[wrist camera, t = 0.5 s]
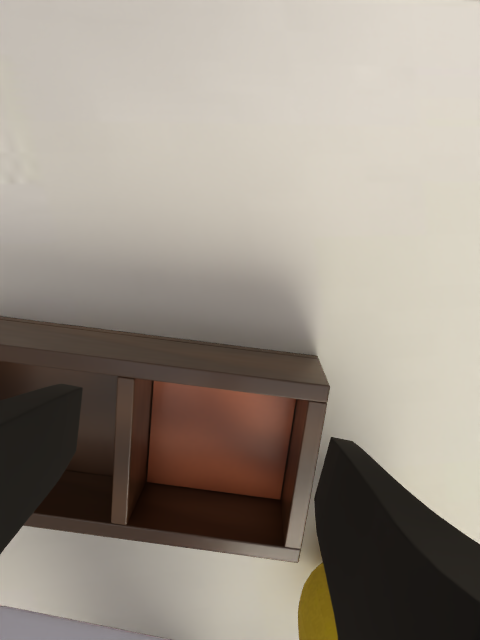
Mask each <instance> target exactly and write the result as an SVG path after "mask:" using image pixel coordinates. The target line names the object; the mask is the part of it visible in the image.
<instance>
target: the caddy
mask: <svg viewBox="0 0 480 640" xmlns="http://www.w3.org/2000/svg"><path fill="white" fill-rule="evenodd" d="M56 384H67V385H72V386H77V387H82V388H83V392H82V401H81V411H80V420H79V430H78V439H77V449H76V452H75V454H74V456H73V457H72V459H71V461H70V463H69V464H68V466H67V468H66V469H65V471H64V473H63V474H62V476H61V478H60V479H59V481H58V482H57V483H56V485H55V486H54V487H53V488H52V490H51V491H50V492H49V494H48V495H47V496H46V497H45V499H44V500H43V501H42V502H41V504H40V505H39V506H38V507H37V509H36V510H35V511H34V512H33V514H32V515H31V516H30V517H29V519H28V520H27V521H26V522H25V524H24V525H23V526H30V527H38V528H45V529H53V530H60V531H67V532H75V533H82V534H89V535H97V536H104V537H111V538H119V539H126V540H134V541H141V542H148V543H156V544H163V545H170V546H178V547H185V548H193V549H200V550H207V551H215V552H222V553H229V554H237V555H244V556H252V557H259V558H266V559H274V560H281V561H288V562H296V563H298V562H299V557H300V551H301V546H302V541H303V535H304V530H305V524H306V519H307V513H308V507H309V502H310V496H311V491H312V485H313V479H314V474H315V468H316V463H317V457H318V452H319V446H320V440H321V435H322V429H323V424H324V418H325V413H326V407H327V401H328V395H329V390H330V385H329V383H328V381H327V378H326V376H325V373H324V371H323V369H322V366H321V364H320V361H319V359H318V356H314V355H306V354H298V353H290V352H281V351H273V350H265V349H257V348H249V347H241V346H233V345H225V344H217V343H209V342H201V341H193V340H185V339H177V338H169V337H161V336H153V335H145V334H136V333H128V332H120V331H112V330H104V329H96V328H88V327H80V326H72V325H64V324H56V323H48V322H40V321H32V320H24V319H16V318H8V317H0V401H1V400H4V399H7V398H11V397H14V396H17V395H21V394H24V393H27V392H31V391H34V390H37V389H41V388H44V387H48V386H52V385H56Z"/></svg>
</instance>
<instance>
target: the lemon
mask: <svg viewBox="0 0 480 640" xmlns="http://www.w3.org/2000/svg"><path fill="white" fill-rule="evenodd" d="M298 629H299V640H338V636H337V629H336V623H335V618H334V612H333V607H332V603H331V598H330V593H329V589H328V584H327V579H326V574H325V570H324V565H323V563H321V564H320V565H319V566H318V567H317V568H316V569H315V570H314V571H313V572H312V573H311V574H310V576H309V578H308V579H307V581H306V582H305V584H304V587H303V590H302V594H301V597H300V602H299V608H298Z"/></svg>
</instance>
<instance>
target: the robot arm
mask: <svg viewBox="0 0 480 640" xmlns="http://www.w3.org/2000/svg"><path fill="white" fill-rule="evenodd" d="M82 392H83V388H82V387H77V386H72V385H67V384H56V385H52V386H48V387H44V388H41V389H37V390H34V391H31V392H27V393H24V394H21V395H17V396H14V397H11V398H7V399H4V400H1V401H0V554H1V553H2V551H3V550H4V548H5V547H6V546H7V545H8V543H9V542H10V541H11V540H12V538H13V537H14V536H15V535H16V533H17V532H18V531H19V530H20V529H21V527H22V526H23V525H24V524H25V522H26V521H27V520H28V519H29V517H30V516H31V515H32V514H33V512H34V511H35V510H36V509H37V507H38V506H39V505H40V504H41V502H42V501H43V500H44V499H45V497H46V496H47V495H48V494H49V492H50V491H51V490H52V488H53V487H54V486H55V485H56V483H57V482H58V481H59V479H60V478H61V476H62V474H63V473H64V471H65V469H66V468H67V466H68V464H69V463H70V461H71V459H72V457H73V456H74V454H75V452H76V449H77V439H78V430H79V420H80V411H81V401H82ZM314 501H315V517H316V529H317V536H318V541H319V546H320V551H321V556H322V560H323V565H324V570H325V574H326V579H327V584H328V589H329V593H330V598H331V603H332V607H333V612H334V618H335V623H336V629H337V636H338V640H480V544H478V543H477V542H475V541H474V540H472V539H471V538H469V537H468V536H466V535H465V534H463V533H462V532H461V531H459V530H458V529H456V528H455V527H454V526H452V525H451V524H449V523H448V522H447V521H445V520H444V519H442V518H441V517H440V516H438V515H437V514H436V513H434V512H433V511H432V510H430V509H429V508H428V507H427V506H426V505H424V504H423V503H422V502H421V501H419V500H418V499H417V498H416V497H415V496H413V495H412V494H411V493H410V492H409V491H408V490H406V489H405V488H404V487H403V486H402V485H401V484H400V483H398V482H397V481H396V480H395V479H394V478H393V477H392V476H391V475H390V474H388V473H387V472H386V471H385V470H384V469H383V468H382V467H381V466H380V465H379V464H378V463H377V462H376V461H375V460H373V459H372V458H371V457H370V456H369V455H368V454H367V453H366V452H365V451H364V450H363V449H361V448H360V447H359V446H358V445H357V444H355V443H354V442H353V441H348V440H343V439H338V438H333V437H331V439H330V443H329V447H328V450H327V454H326V458H325V461H324V465H323V469H322V472H321V476H320V480H319V483H318V487H317V491H316V494H315V498H314ZM0 640H171V639H166V638H161V637H156V636H151V635H146V634H141V633H136V632H131V631H126V630H121V629H117V628H112V627H107V626H102V625H97V624H92V623H87V622H82V621H77V620H72V619H67V618H62V617H57V616H52V615H47V614H42V613H37V612H32V611H27V610H22V609H17V608H12V607H7V606H0Z"/></svg>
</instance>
